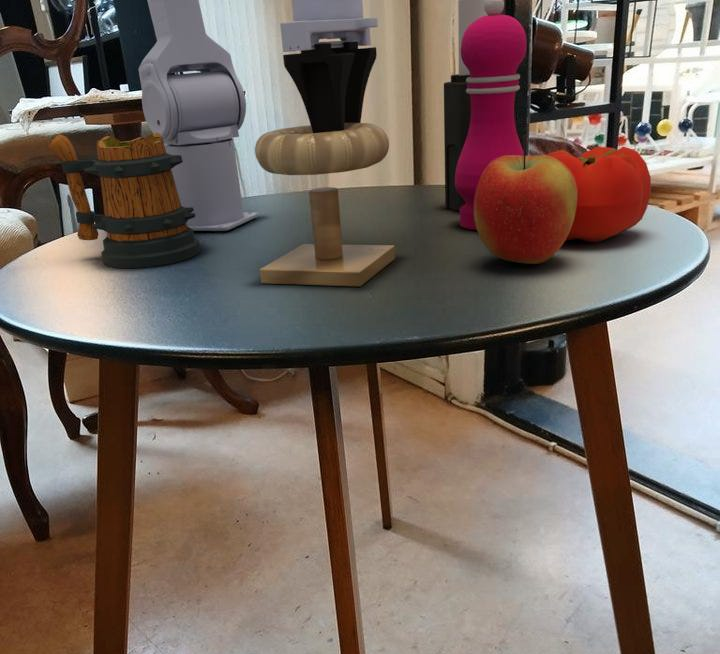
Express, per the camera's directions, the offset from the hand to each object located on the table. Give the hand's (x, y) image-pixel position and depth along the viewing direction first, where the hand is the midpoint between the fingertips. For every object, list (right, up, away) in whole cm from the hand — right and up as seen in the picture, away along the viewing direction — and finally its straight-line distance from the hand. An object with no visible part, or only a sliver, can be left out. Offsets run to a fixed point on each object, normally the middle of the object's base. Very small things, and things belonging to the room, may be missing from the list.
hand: (338, 143), depth 67 cm
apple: (+16, -11, -2) cm, 20 cm away
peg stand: (-1, -11, 0) cm, 11 cm away
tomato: (+23, -7, +4) cm, 24 cm away
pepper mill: (+15, -3, +12) cm, 19 cm away
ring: (-1, -2, -3) cm, 4 cm away
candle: (+15, +1, +20) cm, 25 cm away
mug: (-20, -7, +10) cm, 24 cm away
